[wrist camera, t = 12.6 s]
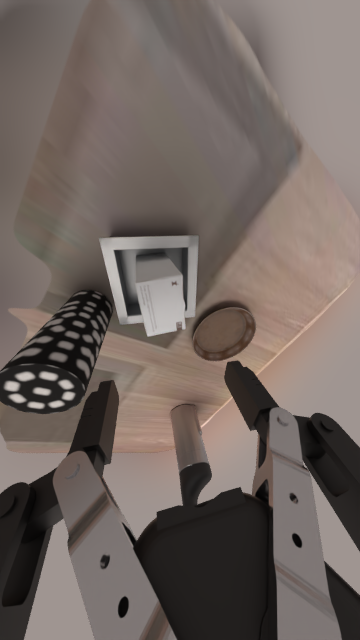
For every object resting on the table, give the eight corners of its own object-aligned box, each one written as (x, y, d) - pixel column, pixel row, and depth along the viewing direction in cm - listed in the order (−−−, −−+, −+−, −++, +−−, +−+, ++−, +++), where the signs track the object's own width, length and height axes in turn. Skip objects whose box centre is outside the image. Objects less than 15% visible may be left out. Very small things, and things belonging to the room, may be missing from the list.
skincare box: (135, 255, 30) (129, 278, 17) (167, 251, 31) (183, 271, 18) (144, 296, 34) (144, 338, 22) (171, 292, 35) (187, 331, 23)
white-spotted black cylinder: (119, 301, 34) (96, 376, 18) (103, 330, 37) (71, 418, 20) (77, 282, 31) (-2, 352, 14) (63, 315, 34) (-15, 407, 17)
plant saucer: (238, 354, 51) (243, 360, 49) (184, 355, 47) (187, 363, 44) (259, 303, 43) (266, 309, 40) (196, 300, 38) (200, 305, 36)
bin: (188, 233, 30) (198, 235, 25) (187, 303, 38) (194, 316, 32) (107, 235, 28) (98, 238, 22) (123, 309, 36) (120, 324, 30)
